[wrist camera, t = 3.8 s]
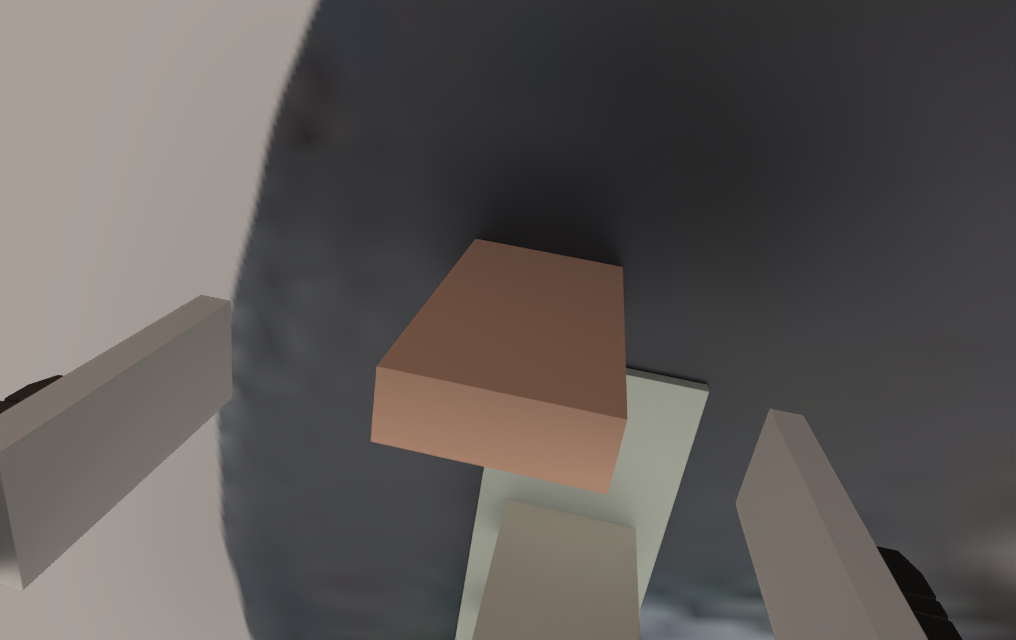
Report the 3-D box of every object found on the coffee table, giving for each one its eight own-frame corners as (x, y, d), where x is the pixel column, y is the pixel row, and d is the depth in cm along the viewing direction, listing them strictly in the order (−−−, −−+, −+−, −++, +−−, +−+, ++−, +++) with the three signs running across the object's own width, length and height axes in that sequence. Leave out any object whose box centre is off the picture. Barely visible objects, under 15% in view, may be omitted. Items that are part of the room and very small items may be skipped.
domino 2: (506, 498, 28) (444, 748, 18) (635, 528, 27) (646, 801, 17) (500, 534, 29) (437, 793, 19) (625, 563, 28) (630, 845, 18)
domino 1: (475, 238, 24) (377, 366, 14) (622, 267, 24) (627, 419, 14) (468, 287, 25) (370, 441, 15) (611, 316, 25) (607, 494, 15)
